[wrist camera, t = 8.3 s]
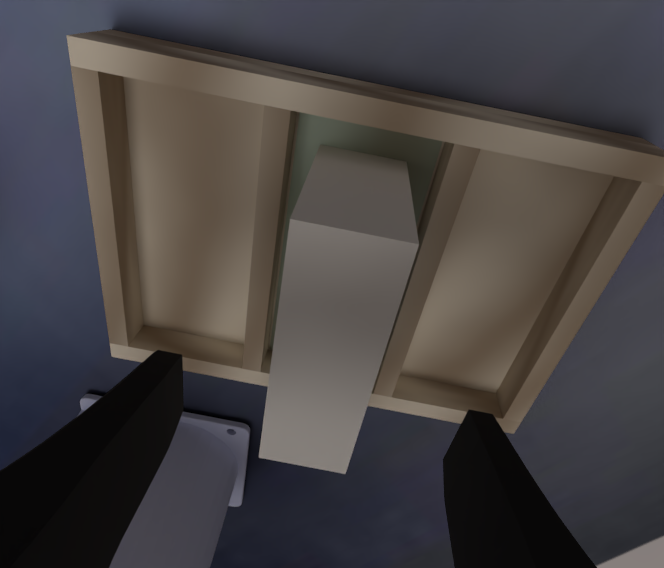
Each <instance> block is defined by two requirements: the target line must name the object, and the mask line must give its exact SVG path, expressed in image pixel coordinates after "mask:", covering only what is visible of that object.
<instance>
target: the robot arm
mask: <svg viewBox="0 0 664 568" xmlns="http://www.w3.org/2000/svg"><path fill="white" fill-rule="evenodd" d="M80 406H81V410H82V411H80V413H79V414H78V416H77V417H76V418H75V419H73V420H72V421H71V422H69V423H68V424H67V425H65V426H64V427H63V428H61V429H60V430H59V431H57V432H56V433H55V434H53V435H52V436H50V437H49V438H48V439H46V440H45V441H44V442H42V443H41V444H39V445H38V446H37V447H35V448H34V449H32V450H31V451H29V452H28V453H26V454H25V455H24V456H22V457H21V458H19V459H18V460H16V461H15V462H13V463H11V464H10V465H8V466H7V467H5V468H4V469H2V470H1V471H0V568H210V565H211V562H212V559H213V555H214V552H215V549H216V545H217V542H218V538H219V535H220V532H221V528H222V525H223V522H224V518H225V515H226V512H227V508H228V506H233V507H238V506H240V505H241V504H242V501H243V494H244V485H245V476H246V467H247V457H248V448H249V439H250V427H249V426H248V425H247V424H245V423H241V422H236V421H230V420H225V419H220V418H215V417H209V416H204V415H199V414H194V413H188V412H183V359H182V354H177V353H172V352H166V351H161V350H157V351H155V352H154V353H152V354H151V355H150V356H149V357H148V358H147V359H146V360H145V361H143V362H142V363H141V364H140V365H139V366H138V367H137V368H136V369H134V370H133V371H132V372H131V373H130V374H129V375H128V376H126V377H125V378H124V379H123V380H122V381H120V382H119V383H118V384H117V385H116V386H115V387H113V388H112V389H111V390H110V391H109V392H107V393H106V394H105V395H104V396H99V395H94V394H85V395H84V396H83V397H82V398H81V400H80ZM443 472H444V498H445V507H446V514H447V521H448V527H449V534H450V540H451V547H452V553H453V559H454V566H455V568H597V567H596V566H595V565H594V563H593V562H592V561H591V560H590V558H589V557H588V556H587V554H586V553H585V552H584V550H583V549H582V548H581V546H580V545H579V544H578V542H577V541H576V540H575V538H574V537H573V536H572V534H571V533H570V531H569V530H568V529H567V527H566V526H565V525H564V523H563V522H562V520H561V519H560V518H559V516H558V515H557V513H556V512H555V510H554V509H553V508H552V506H551V505H550V503H549V502H548V500H547V499H546V497H545V496H544V494H543V493H542V491H541V490H540V488H539V487H538V485H537V484H536V482H535V481H534V479H533V477H532V476H531V474H530V473H529V471H528V470H527V468H526V467H525V465H524V463H523V462H522V460H521V459H520V457H519V455H518V454H517V452H516V451H515V449H514V447H513V446H512V444H511V443H510V441H509V439H508V438H507V436H506V434H505V433H504V431H503V430H502V428H501V426H500V425H499V423H498V422H497V420H496V418H495V417H494V415H493V414H490V413H485V412H480V411H475V410H468V412H467V414H466V416H465V417H464V419H463V421H462V423H461V425H460V427H459V429H458V431H457V433H456V435H455V437H454V439H453V441H452V443H451V445H450V447H449V449H448V451H447V453H446V455H445V457H444V459H443Z"/></svg>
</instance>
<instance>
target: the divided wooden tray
mask: <svg viewBox="0 0 664 568" xmlns="http://www.w3.org/2000/svg"><path fill="white" fill-rule="evenodd" d="M67 42H68V49H69V56H70V63H71V70H72V78H73V85H74V92H75V99H76V106H77V113H78V120H79V128H80V135H81V142H82V149H83V156H84V163H85V170H86V178H87V185H88V192H89V199H90V206H91V213H92V220H93V228H94V235H95V242H96V249H97V256H98V263H99V270H100V278H101V285H102V292H103V299H104V306H105V313H106V320H107V328H108V335H109V342H110V349H111V356H112V357H116V358H121V359H126V360H132V361H137V362H143V361H145V360H146V359H147V358H148V357H149V356H150V355H151V354H152V353H154V352H155V351H157V350H161V351H166V352H172V353H177V354H182V359H183V370H184V371H189V372H194V373H199V374H205V375H210V376H215V377H220V378H225V379H231V380H236V381H241V382H246V383H251V384H257V385H262V386H267V387H268V382H269V374H270V367H271V359H272V352H273V344H274V336H275V329H276V321H277V314H278V306H279V298H280V291H281V283H282V276H283V268H284V261H285V253H286V245H287V238H288V230H289V223H290V218H291V215H292V213H293V210H294V208H295V205H296V203H297V200H298V198H299V195H300V193H301V190H302V188H303V185H304V183H305V181H306V178H307V176H308V173H309V171H310V168H311V166H312V163H313V161H314V158H315V156H316V153H317V151H318V148H319V146H320V144H321V145H326V146H331V147H336V148H341V149H346V150H351V151H355V152H360V153H365V154H370V155H375V156H380V157H385V158H390V159H395V160H400V161H405V162H407V168H408V174H409V181H410V188H411V194H412V201H413V208H414V214H415V221H416V227H417V234H418V241H419V246H418V249H417V253H416V256H415V259H414V262H413V265H412V268H411V271H410V275H409V278H408V281H407V284H406V287H405V290H404V293H403V296H402V299H401V303H400V306H399V309H398V312H397V315H396V318H395V321H394V324H393V328H392V331H391V334H390V337H389V340H388V343H387V346H386V349H385V352H384V356H383V359H382V362H381V365H380V368H379V371H378V374H377V377H376V380H375V384H374V387H373V390H372V393H371V396H370V399H369V402H368V405H367V406H371V407H376V408H382V409H387V410H392V411H397V412H403V413H408V414H413V415H418V416H423V417H429V418H434V419H439V420H444V421H449V422H455V423H460V424H461V423H462V421H463V419H464V417H465V416H466V414H467V412H468V410H475V411H480V412H485V413H490V414H493V415H494V417H495V418H496V420H497V422H498V423H499V425H500V426H501V428H502V430H503V431H504V432H507V433H512V434H514V433H515V431H516V429H517V428H518V426H519V425H520V423H521V421H522V420H523V418H524V417H525V415H526V413H527V412H528V410H529V409H530V407H531V405H532V404H533V402H534V401H535V399H536V397H537V396H538V394H539V393H540V391H541V389H542V388H543V386H544V385H545V383H546V381H547V380H548V378H549V377H550V375H551V373H552V372H553V370H554V369H555V367H556V365H557V364H558V362H559V361H560V359H561V357H562V356H563V354H564V353H565V351H566V349H567V348H568V346H569V345H570V343H571V341H572V340H573V338H574V337H575V335H576V333H577V332H578V330H579V329H580V327H581V325H582V324H583V322H584V321H585V319H586V317H587V316H588V314H589V313H590V311H591V309H592V308H593V306H594V305H595V303H596V301H597V300H598V298H599V297H600V295H601V293H602V292H603V290H604V289H605V287H606V285H607V284H608V282H609V281H610V279H611V277H612V276H613V274H614V273H615V271H616V269H617V268H618V266H619V265H620V263H621V261H622V260H623V258H624V257H625V255H626V253H627V252H628V250H629V249H630V247H631V245H632V244H633V242H634V240H635V239H636V237H637V236H638V234H639V232H640V231H641V229H642V228H643V226H644V224H645V223H646V221H647V220H648V218H649V216H650V215H651V213H652V212H653V210H654V208H655V207H656V205H657V204H658V202H659V200H660V199H661V197H662V196H663V194H664V150H663V149H661V148H659V147H657V146H655V145H653V144H652V143H650V142H648V141H646V140H644V139H643V138H639V137H634V136H629V135H624V134H619V133H614V132H609V131H604V130H600V129H595V128H590V127H585V126H580V125H575V124H570V123H565V122H561V121H556V120H551V119H546V118H541V117H536V116H531V115H526V114H521V113H517V112H512V111H507V110H502V109H497V108H492V107H487V106H482V105H478V104H473V103H468V102H463V101H458V100H453V99H448V98H443V97H438V96H434V95H429V94H424V93H419V92H414V91H409V90H404V89H399V88H395V87H390V86H385V85H380V84H375V83H370V82H365V81H360V80H355V79H351V78H346V77H341V76H336V75H331V74H326V73H321V72H316V71H312V70H307V69H302V68H297V67H292V66H287V65H282V64H277V63H272V62H268V61H263V60H258V59H253V58H248V57H243V56H238V55H233V54H229V53H224V52H219V51H214V50H209V49H204V48H199V47H194V46H189V45H185V44H180V43H175V42H170V41H165V40H160V39H155V38H150V37H146V36H141V35H136V34H131V33H126V32H121V31H116V30H111V29H110V30H103V31H95V32H88V33H80V34H73V35H67Z"/></svg>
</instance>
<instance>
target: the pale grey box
mask: <svg viewBox="0 0 664 568" xmlns="http://www.w3.org/2000/svg"><path fill="white" fill-rule="evenodd" d="M418 246H419V241H418V234H417V227H416V221H415V214H414V208H413V201H412V194H411V188H410V181H409V174H408V168H407V162H405V161H400V160H395V159H390V158H385V157H380V156H375V155H370V154H365V153H360V152H355V151H351V150H346V149H341V148H336V147H331V146H326V145H321V144H320V146H319V148H318V151H317V153H316V156H315V158H314V161H313V163H312V166H311V168H310V171H309V173H308V176H307V178H306V181H305V183H304V185H303V188H302V190H301V193H300V195H299V198H298V200H297V203H296V205H295V208H294V210H293V213H292V215H291V218H290V223H289V230H288V238H287V245H286V253H285V261H284V268H283V276H282V283H281V291H280V298H279V306H278V314H277V321H276V329H275V336H274V344H273V352H272V359H271V367H270V374H269V382H268V389H267V397H266V405H265V412H264V420H263V427H262V435H261V443H260V450H259V458H263V459H268V460H274V461H279V462H284V463H290V464H295V465H300V466H306V467H311V468H316V469H321V470H327V471H332V472H337V473H343V474H346V471H347V468H348V465H349V461H350V458H351V455H352V452H353V449H354V446H355V443H356V440H357V437H358V433H359V430H360V427H361V424H362V421H363V418H364V415H365V412H366V409H367V405H368V402H369V399H370V396H371V393H372V390H373V387H374V384H375V380H376V377H377V374H378V371H379V368H380V365H381V362H382V359H383V356H384V352H385V349H386V346H387V343H388V340H389V337H390V334H391V331H392V328H393V324H394V321H395V318H396V315H397V312H398V309H399V306H400V303H401V299H402V296H403V293H404V290H405V287H406V284H407V281H408V278H409V275H410V271H411V268H412V265H413V262H414V259H415V256H416V253H417V249H418Z"/></svg>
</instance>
